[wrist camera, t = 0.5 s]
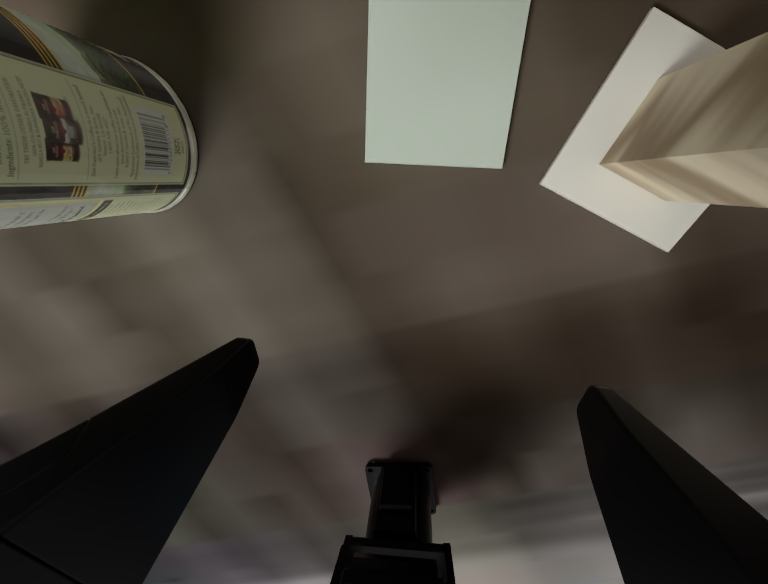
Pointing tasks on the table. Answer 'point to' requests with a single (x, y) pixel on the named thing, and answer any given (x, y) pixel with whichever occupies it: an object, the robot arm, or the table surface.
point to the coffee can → (85, 130)
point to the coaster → (442, 80)
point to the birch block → (702, 132)
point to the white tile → (608, 119)
